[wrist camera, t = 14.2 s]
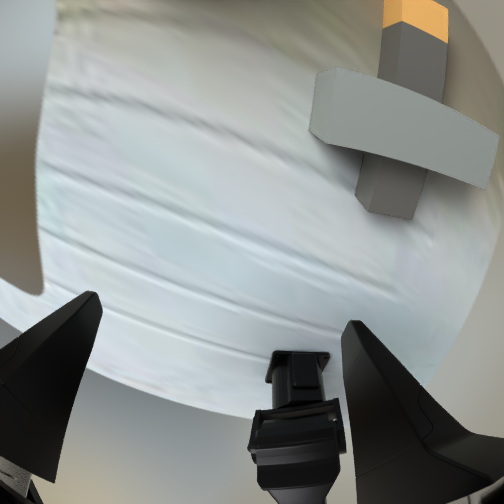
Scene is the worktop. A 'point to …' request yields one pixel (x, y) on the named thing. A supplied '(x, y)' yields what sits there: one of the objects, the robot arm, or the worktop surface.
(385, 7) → the plug
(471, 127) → the housing
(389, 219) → the worktop surface
